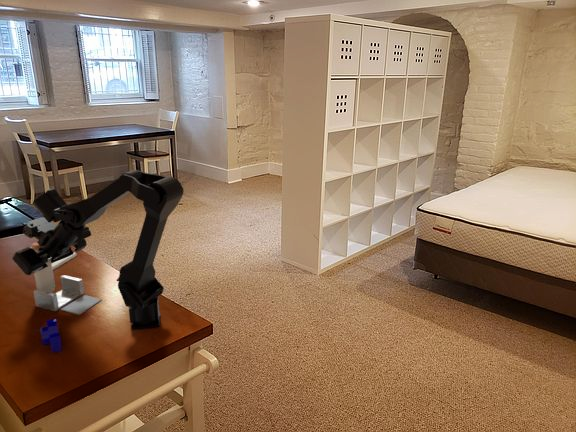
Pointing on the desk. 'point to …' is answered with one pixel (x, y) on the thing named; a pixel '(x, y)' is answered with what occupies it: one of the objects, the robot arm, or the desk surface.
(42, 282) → the white upright post
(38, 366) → the desk surface
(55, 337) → the cable holder
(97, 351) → the desk surface
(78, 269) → the desk surface
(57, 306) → the bracket
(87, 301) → the pad
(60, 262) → the external hard drive
